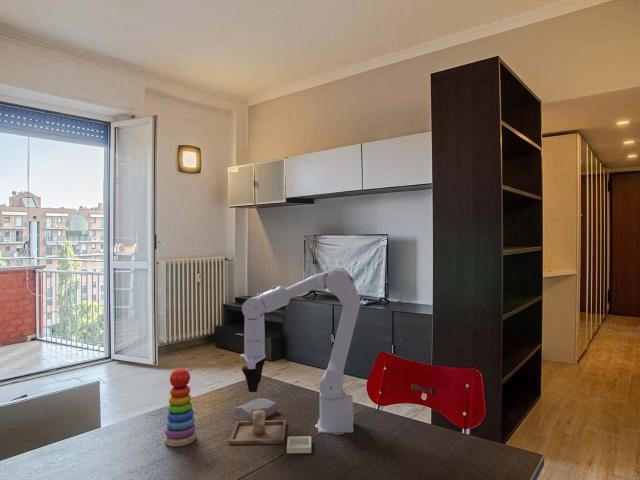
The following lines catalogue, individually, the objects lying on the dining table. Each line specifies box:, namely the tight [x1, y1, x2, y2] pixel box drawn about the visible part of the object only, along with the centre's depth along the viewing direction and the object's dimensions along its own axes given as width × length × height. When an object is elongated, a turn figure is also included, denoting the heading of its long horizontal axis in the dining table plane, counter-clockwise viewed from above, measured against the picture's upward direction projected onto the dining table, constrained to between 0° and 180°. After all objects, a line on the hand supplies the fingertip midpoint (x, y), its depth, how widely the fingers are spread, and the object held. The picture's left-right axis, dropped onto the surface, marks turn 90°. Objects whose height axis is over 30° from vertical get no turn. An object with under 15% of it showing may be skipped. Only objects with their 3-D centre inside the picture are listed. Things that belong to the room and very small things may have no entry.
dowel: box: [253, 410, 266, 436], centre depth 116 cm, size 3×3×6 cm
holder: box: [286, 435, 312, 454], centre depth 108 cm, size 6×6×2 cm
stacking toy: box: [164, 367, 197, 448], centre depth 112 cm, size 8×8×19 cm
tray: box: [228, 419, 287, 446], centre depth 116 cm, size 14×12×1 cm
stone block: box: [231, 397, 279, 421], centre depth 129 cm, size 12×5×10 cm
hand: (254, 387), depth 123 cm, fingers open, 7 cm apart
